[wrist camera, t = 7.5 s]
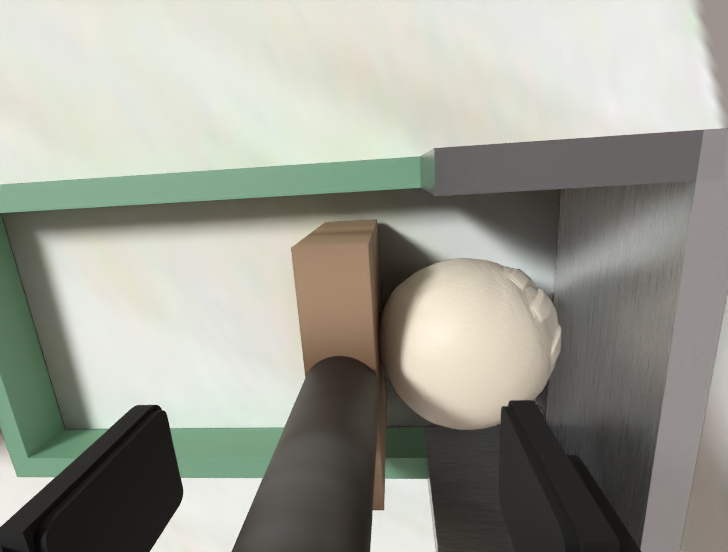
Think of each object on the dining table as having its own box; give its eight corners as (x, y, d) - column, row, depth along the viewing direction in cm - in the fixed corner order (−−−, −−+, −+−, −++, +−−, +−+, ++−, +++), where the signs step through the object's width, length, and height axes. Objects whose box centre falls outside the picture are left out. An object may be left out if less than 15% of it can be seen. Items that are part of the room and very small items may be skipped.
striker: (323, 222, 18) (102, 382, 4) (379, 219, 18) (330, 377, 4) (340, 409, 21) (232, 885, 7) (388, 408, 21) (379, 899, 7)
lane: (-26, 188, 20) (-82, 190, 17) (416, 158, 18) (419, 156, 15) (54, 446, 23) (17, 477, 21) (424, 445, 21) (427, 478, 19)
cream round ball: (547, 344, 19) (623, 430, 13) (410, 390, 21) (418, 489, 14) (505, 219, 18) (566, 246, 12) (360, 276, 19) (344, 329, 13)
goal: (416, 158, 18) (434, 148, 10) (592, 146, 17) (757, 126, 9) (424, 445, 21) (441, 599, 14) (567, 445, 21) (669, 605, 13)
